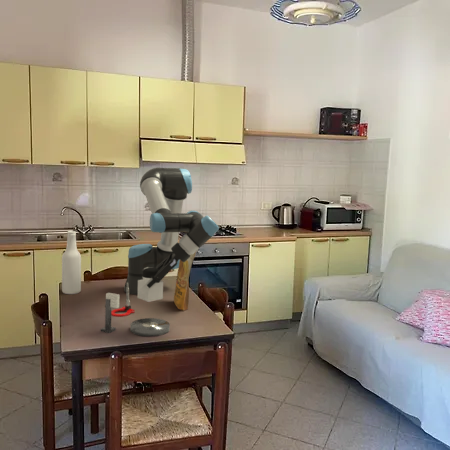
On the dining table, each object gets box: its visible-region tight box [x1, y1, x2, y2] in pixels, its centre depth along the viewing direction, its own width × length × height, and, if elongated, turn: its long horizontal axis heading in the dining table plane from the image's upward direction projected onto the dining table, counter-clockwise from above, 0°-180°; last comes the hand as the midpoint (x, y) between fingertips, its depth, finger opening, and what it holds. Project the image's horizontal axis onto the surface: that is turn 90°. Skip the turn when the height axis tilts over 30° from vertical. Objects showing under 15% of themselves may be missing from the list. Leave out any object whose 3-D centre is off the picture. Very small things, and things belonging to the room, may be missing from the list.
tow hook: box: [111, 283, 135, 318], centre depth 199 cm, size 8×13×9 cm
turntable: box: [129, 317, 171, 337], centre depth 182 cm, size 15×15×2 cm
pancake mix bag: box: [173, 251, 197, 311], centre depth 213 cm, size 7×19×28 cm, turn 17°
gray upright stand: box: [100, 292, 120, 334], centre depth 177 cm, size 4×6×14 cm, turn 67°
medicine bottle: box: [137, 267, 164, 303], centre depth 180 cm, size 7×7×12 cm
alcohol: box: [61, 230, 82, 295], centre depth 227 cm, size 9×9×30 cm
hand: (142, 288), depth 180 cm, fingers closed on medicine bottle, 10 cm apart
